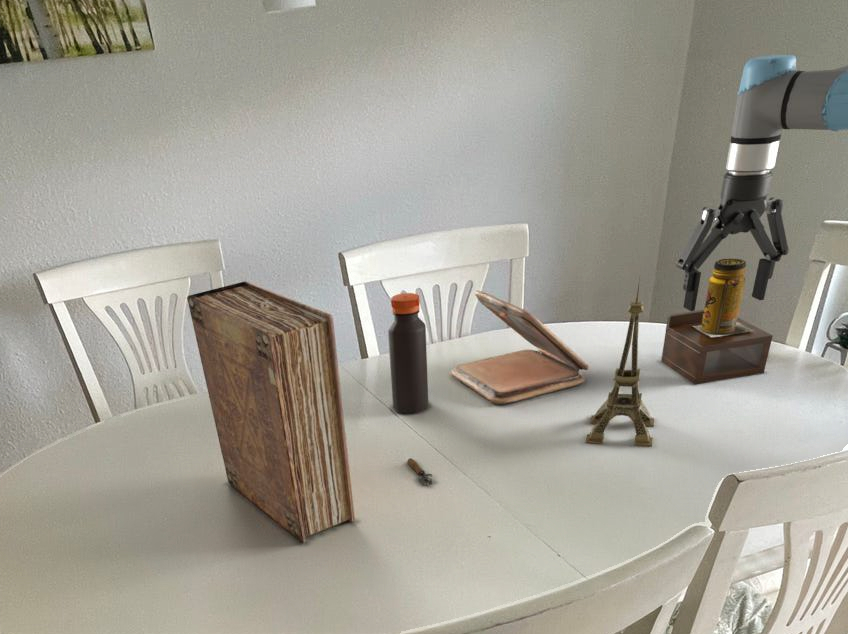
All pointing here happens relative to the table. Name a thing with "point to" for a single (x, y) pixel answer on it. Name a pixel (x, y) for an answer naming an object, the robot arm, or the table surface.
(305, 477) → the book
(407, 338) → the vinegar
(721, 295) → the condiment
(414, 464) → the can opener
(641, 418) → the eiffel tower
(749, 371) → the box
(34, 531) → the table surface
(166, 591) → the table surface
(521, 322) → the case
